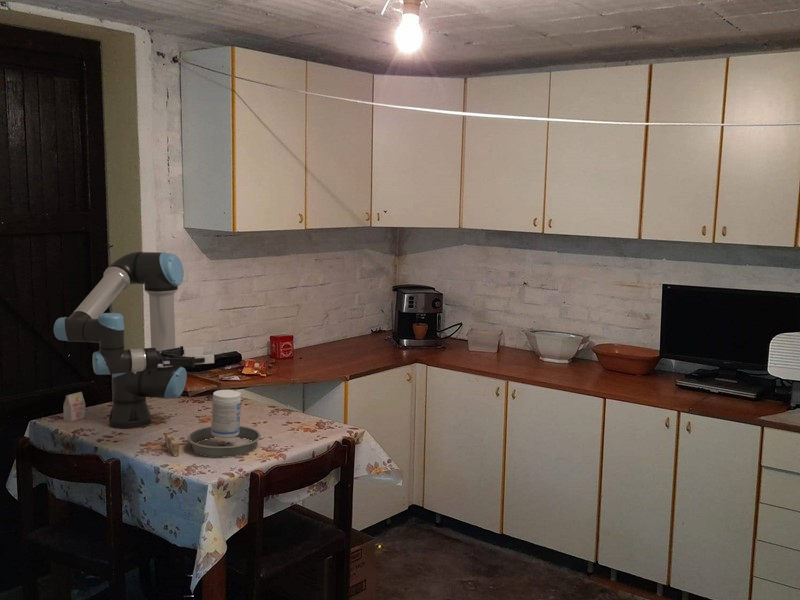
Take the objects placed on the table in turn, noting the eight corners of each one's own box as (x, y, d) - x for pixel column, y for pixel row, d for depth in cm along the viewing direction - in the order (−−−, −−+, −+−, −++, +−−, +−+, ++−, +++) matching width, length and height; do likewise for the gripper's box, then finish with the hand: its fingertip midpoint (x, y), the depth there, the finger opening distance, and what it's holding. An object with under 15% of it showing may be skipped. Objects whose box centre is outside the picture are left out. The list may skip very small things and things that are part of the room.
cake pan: (227, 465, 250) (227, 451, 249) (172, 451, 262) (172, 438, 261) (275, 445, 271) (275, 432, 271) (222, 432, 283) (222, 420, 283)
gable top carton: (63, 420, 291) (63, 394, 290) (79, 416, 297) (78, 391, 296) (70, 422, 289) (69, 396, 288) (85, 418, 295) (84, 392, 294)
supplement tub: (242, 438, 264) (244, 396, 261) (214, 440, 259) (217, 398, 257) (234, 428, 272) (237, 388, 270) (207, 430, 268) (209, 389, 265)
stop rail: (179, 456, 256) (178, 444, 255) (174, 456, 255) (174, 445, 255) (169, 443, 268) (169, 432, 267) (165, 444, 267) (164, 433, 267)
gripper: (136, 363, 264) (198, 358, 274) (151, 379, 242) (218, 373, 253) (136, 341, 263) (198, 337, 273) (151, 355, 241) (218, 350, 252)
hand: (208, 354), depth 263 cm, fingers open, 13 cm apart
